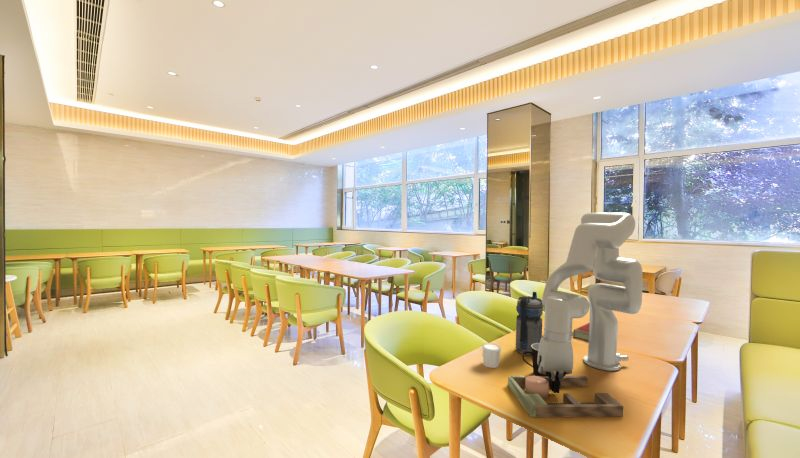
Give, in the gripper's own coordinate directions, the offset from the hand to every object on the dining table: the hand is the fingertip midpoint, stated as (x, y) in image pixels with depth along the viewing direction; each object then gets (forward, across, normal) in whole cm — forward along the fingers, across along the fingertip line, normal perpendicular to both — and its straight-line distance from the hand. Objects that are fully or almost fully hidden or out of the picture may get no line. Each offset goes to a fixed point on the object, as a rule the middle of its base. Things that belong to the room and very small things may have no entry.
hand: (554, 390), depth 111 cm
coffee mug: (+1, -1, -14) cm, 14 cm away
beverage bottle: (+1, -5, -33) cm, 33 cm away
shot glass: (+1, +14, -22) cm, 26 cm away
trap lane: (+1, -1, +3) cm, 3 cm away
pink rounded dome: (+1, +6, 0) cm, 6 cm away
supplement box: (+2, -28, -51) cm, 58 cm away
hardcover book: (+2, -48, -53) cm, 72 cm away
